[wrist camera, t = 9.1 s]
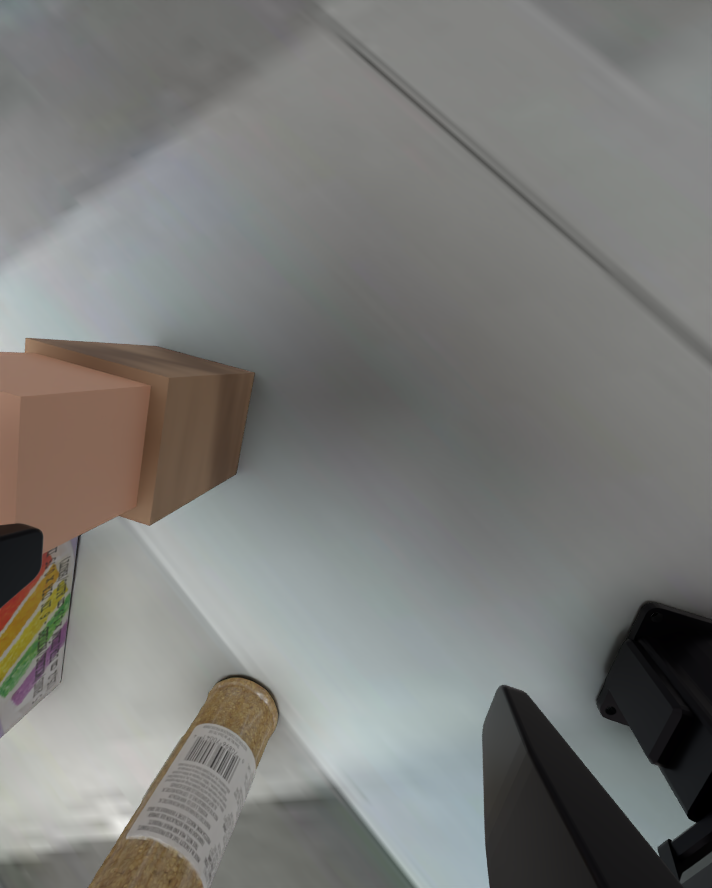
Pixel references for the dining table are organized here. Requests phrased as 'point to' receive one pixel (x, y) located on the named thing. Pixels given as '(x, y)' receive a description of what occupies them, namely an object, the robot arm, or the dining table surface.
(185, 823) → the sprinkles bottle
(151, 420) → the tan wooden block
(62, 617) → the cake pan box
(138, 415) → the cube
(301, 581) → the dining table surface
